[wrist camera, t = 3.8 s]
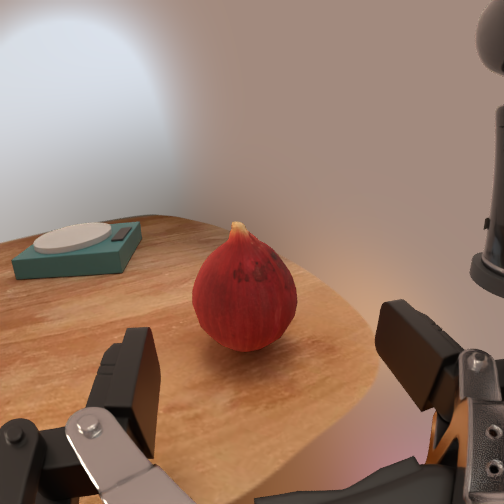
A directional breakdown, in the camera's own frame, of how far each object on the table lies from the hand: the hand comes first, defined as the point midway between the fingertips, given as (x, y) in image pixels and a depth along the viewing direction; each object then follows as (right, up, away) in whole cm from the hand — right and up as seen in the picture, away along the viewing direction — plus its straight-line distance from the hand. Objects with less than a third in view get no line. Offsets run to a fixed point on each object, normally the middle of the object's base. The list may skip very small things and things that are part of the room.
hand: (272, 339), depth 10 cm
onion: (-1, -3, +9) cm, 10 cm away
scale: (-22, +2, +25) cm, 33 cm away
